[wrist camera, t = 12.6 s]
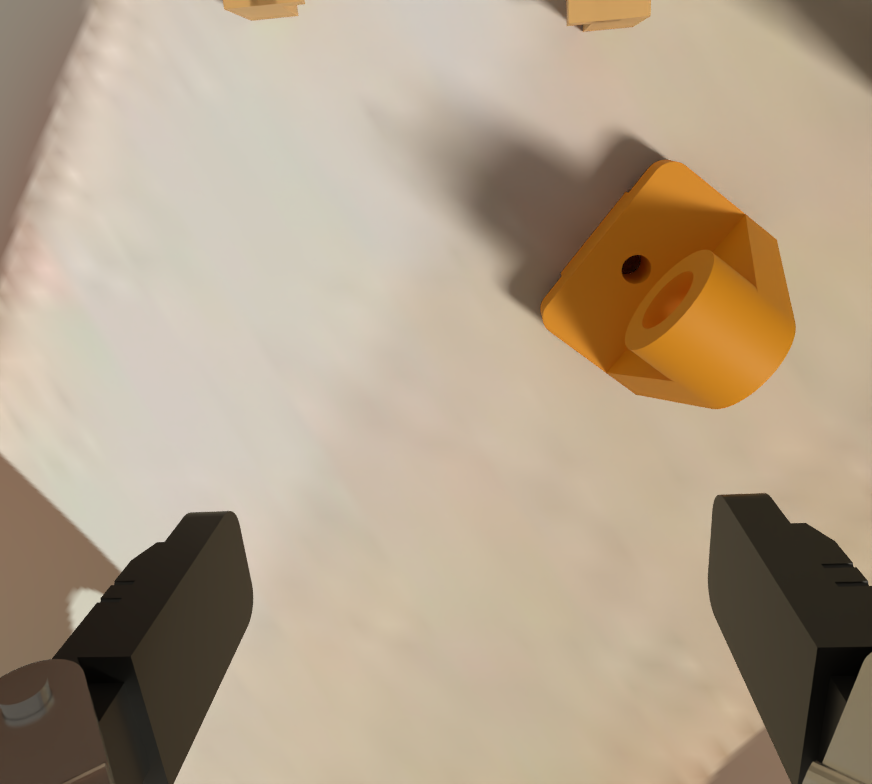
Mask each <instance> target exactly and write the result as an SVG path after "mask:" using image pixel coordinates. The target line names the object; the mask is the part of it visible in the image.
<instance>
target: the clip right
mask: <svg viewBox="0 0 872 784" xmlns="http://www.w3.org/2000/svg"><path fill="white" fill-rule="evenodd" d="M566 7H567V26H573V25H583V32H585V31H596V30H606V29H616V28H627V27H634V26H635V25H637V24H639V23H640V22H642V21H643V20H645V19H646V18H648V17H650V12H651V0H566Z"/></svg>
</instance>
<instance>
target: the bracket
mask: <svg viewBox="0 0 872 784" xmlns="http://www.w3.org/2000/svg"><path fill="white" fill-rule="evenodd" d="M633 255H641V263H640V266H639V267H638V269H637V270H635V271H634V272H632V273H629V274H623V273H622V266H623V263H624V262H625V261H626V259H628V258H629V257H631V256H633ZM561 275H562V276H561V278H560V279H559V280H558V281H557V283H556V284H555V285H554V286H553V288H552V289H551V290H550V291H549V293H548V294H547V295H546V296H545V298H544V299H543V301H542V303H541V307H540V311H541V315H542V319H543V323H544V325H545V327H546V328H547V329H548V330H549V331H550V332H551V333H553V334H554V335H555V336H557V337H558V338H559V339H561V340H562V341H564V342H565V343H566V344H568V345H569V346H570V347H572V348H573V349H574V350H576V351H577V352H579V353H580V354H581V355H583V356H584V357H585V358H587V359H588V360H589V361H591V362H592V363H594V364H595V365H596V366H598V367H599V368H600V369H602V370H603V371H604V372H606V373H607V374H609V375H610V376H611V377H613V378H614V379H615V380H617V381H618V382H619V383H621V384H622V385H623V386H625V387H626V388H628V389H629V390H630V391H632V392H633V393H634V394H636V395H641V396H646V397H652V398H657V399H662V400H668V401H673V402H678V403H684V404H689V405H694V406H700V407H705V408H711V409H721V408H726V407H729V406H731V405H734V404H736V403H738V402H740V401H741V400H743V399H745V398H746V397H748V396H749V395H751V394H752V393H753V392H755V391H756V390H757V389H758V388H759V387H761V386H762V385H763V384H764V383H765V382H766V381H767V380H768V379H769V378H770V377H771V376H772V374H773V373H774V372H775V371H776V370H777V368H778V367H779V366H780V364H781V363H782V361H783V360H784V358H785V357H786V355H787V353H788V351H789V349H790V347H791V345H792V342H793V339H794V336H795V329H796V326H795V320H794V315H793V311H792V306H791V302H790V297H789V293H788V288H787V284H786V279H785V275H784V270H783V266H782V261H781V257H780V252H779V248H778V243H777V240H776V239H775V238H774V237H773V236H771V235H770V234H769V233H768V232H767V231H765V230H764V229H763V228H762V227H760V226H759V225H758V224H757V223H756V222H754V221H753V220H752V219H751V218H749V217H748V216H747V215H746V214H744V213H743V212H742V211H741V210H740V209H738V208H737V207H736V206H735V205H733V204H732V203H731V202H730V201H728V200H727V199H726V198H725V197H724V196H722V195H721V194H720V193H719V192H717V191H716V190H715V189H714V188H713V187H711V186H710V185H709V184H708V183H706V182H705V181H704V180H703V179H701V178H700V177H699V176H698V175H697V174H695V173H694V172H693V171H692V170H690V169H689V168H688V167H687V166H685V165H684V164H682V163H679V162H675V161H671V160H660V161H657V162H655V163H653V164H652V165H651V166H650V167H649V168H648V169H647V170H646V172H645V173H644V174H643V175H642V177H641V178H640V179H639V180H638V182H637V183H636V184H635V185H634V187H633V188H632V189H631V190H630V192H629V193H628V192H625V193H624V194H623V196H622V197H621V198H620V199H619V201H618V202H617V203H616V204H615V206H614V207H613V208H612V209H611V211H610V212H609V213H608V214H607V216H606V217H605V218H604V219H603V221H602V222H601V223H600V224H599V226H598V227H597V228H596V229H595V231H594V232H593V233H592V234H591V236H590V237H589V238H588V239H587V241H586V242H585V243H584V244H583V246H582V247H581V248H580V249H579V251H578V252H577V253H576V254H575V256H574V257H573V258H572V259H571V261H570V262H569V263H568V264H567V266H566V267H565V268H564V269H563V271H562V272H561Z"/></svg>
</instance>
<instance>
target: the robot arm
mask: <svg viewBox="0 0 872 784" xmlns="http://www.w3.org/2000/svg"><path fill="white" fill-rule="evenodd" d="M708 589H709V597H710V602H711V606H712V610H713V613H714V616H715V618H716V620H717V622H718V625H719V627H720V629H721V631H722V633H723V636H724V638H725V640H726V642H727V644H728V646H729V649H730V651H731V653H732V655H733V657H734V659H735V662H736V664H737V666H738V668H739V670H740V673H741V675H742V677H743V679H744V681H745V683H746V686H747V688H748V690H749V692H750V694H751V696H752V699H753V701H754V703H755V705H756V707H757V710H758V712H759V714H760V716H761V718H762V720H763V723H764V725H765V727H766V729H767V731H768V733H769V736H770V738H771V740H772V742H773V744H774V746H775V749H776V751H777V753H778V755H779V757H780V760H781V762H782V764H783V766H784V768H785V770H786V773H787V775H788V777H789V779H790V781H791V784H872V586H869V585H868V581H867V579H866V578H865V577H864V576H863V575H862V573H861V572H860V571H859V570H858V569H857V567H853V563H852V561H851V560H850V559H849V558H848V556H847V555H846V554H845V553H844V552H843V550H842V549H841V548H840V547H839V546H838V544H837V543H836V542H835V541H834V540H832V539H830V538H829V537H827V536H826V535H824V534H822V533H821V532H819V531H818V530H816V529H814V528H813V527H811V526H810V525H808V524H806V523H792V524H791V523H790V522H789V521H788V519H787V518H786V517H785V515H784V514H783V513H782V511H781V510H780V509H779V507H778V506H777V505H776V503H775V502H774V501H773V500H772V498H771V497H770V496H769V495H768V494H766V493H759V494H731V495H717V496H716V498H715V500H714V504H713V511H712V525H711V539H710V554H709V568H708ZM252 608H253V588H252V582H251V578H250V573H249V568H248V563H247V558H246V553H245V549H244V544H243V539H242V534H241V529H240V525H239V521H238V518H237V516H236V515H235V513H233V512H232V511H221V512H193V513H188V514H186V515H185V516H184V517H183V519H182V520H181V521H180V523H179V524H178V525H177V527H176V528H175V529H174V530H173V532H172V533H171V534H170V536H169V537H168V538H167V540H166V541H165V542H157V543H155V544H154V545H153V546H151V547H150V548H148V549H147V550H145V551H144V552H143V553H141V554H140V555H138V556H137V557H135V558H134V559H133V560H131V561H130V563H129V564H128V565H127V566H126V567H125V569H124V570H123V571H122V572H121V574H120V575H119V576H118V578H117V579H116V580H115V584H114V585H111V586H110V588H109V589H108V590H107V591H106V592H105V594H104V595H103V596H102V597H101V602H100V603H96V605H95V606H94V607H93V608H92V610H91V611H90V612H89V613H88V615H87V616H86V617H85V618H84V620H83V621H82V622H81V623H80V625H79V626H78V627H77V628H76V630H75V631H74V632H73V633H72V635H71V636H70V637H69V638H68V639H67V641H66V642H65V643H64V645H63V646H62V647H61V648H60V649H59V651H58V652H57V653H56V654H55V656H54V657H53V658H52V659H49V660H43V661H39V662H35V663H31V664H28V665H25V666H23V667H20V668H18V669H16V670H13V671H11V672H9V673H8V674H6V675H4V676H2V677H1V678H0V784H174V781H175V779H176V777H177V775H178V773H179V771H180V769H181V767H182V764H183V762H184V760H185V758H186V756H187V754H188V752H189V750H190V748H191V745H192V743H193V741H194V739H195V737H196V735H197V733H198V731H199V728H200V726H201V724H202V722H203V720H204V718H205V716H206V714H207V711H208V709H209V707H210V705H211V703H212V701H213V699H214V697H215V694H216V692H217V690H218V688H219V686H220V684H221V682H222V680H223V677H224V675H225V673H226V671H227V669H228V667H229V665H230V663H231V660H232V658H233V656H234V654H235V652H236V650H237V648H238V646H239V644H240V641H241V639H242V637H243V635H244V633H245V631H246V629H247V627H248V624H249V622H250V618H251V614H252Z"/></svg>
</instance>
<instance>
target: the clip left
mask: <svg viewBox="0 0 872 784" xmlns="http://www.w3.org/2000/svg"><path fill="white" fill-rule="evenodd" d="M223 4H224V9H225V10H227V11H230V12H232V13H235V14H237V15H239V16H242V17H244V18H246V19H249V20H261V19H271V18H281V17H291V16H298V11H297V5H300V4H305V0H223Z"/></svg>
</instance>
